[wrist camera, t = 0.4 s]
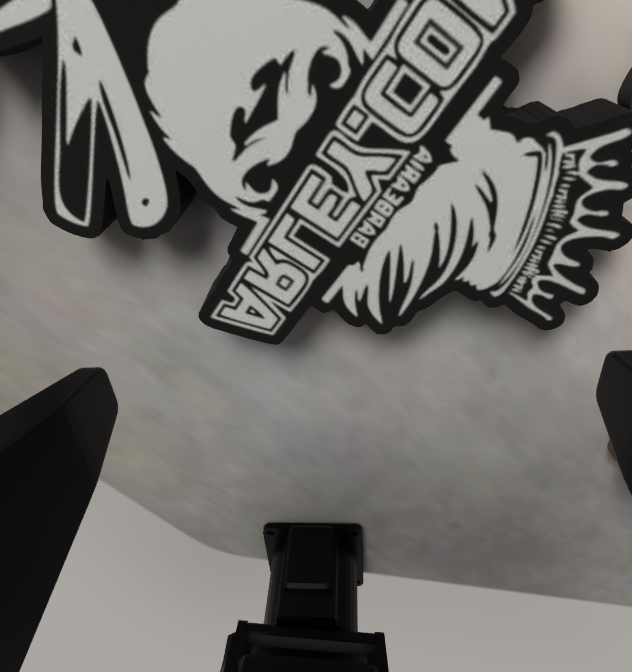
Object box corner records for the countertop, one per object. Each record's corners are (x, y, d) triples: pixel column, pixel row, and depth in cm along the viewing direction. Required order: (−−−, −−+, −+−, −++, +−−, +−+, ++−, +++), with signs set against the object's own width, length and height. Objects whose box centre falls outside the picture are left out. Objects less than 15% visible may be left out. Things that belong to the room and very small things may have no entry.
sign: (-210, -892, 9) (796, 121, 17) (-89, -702, 12) (739, 104, 20) (-237, 93, 18) (420, 450, 26) (-167, 81, 21) (414, 411, 29)
